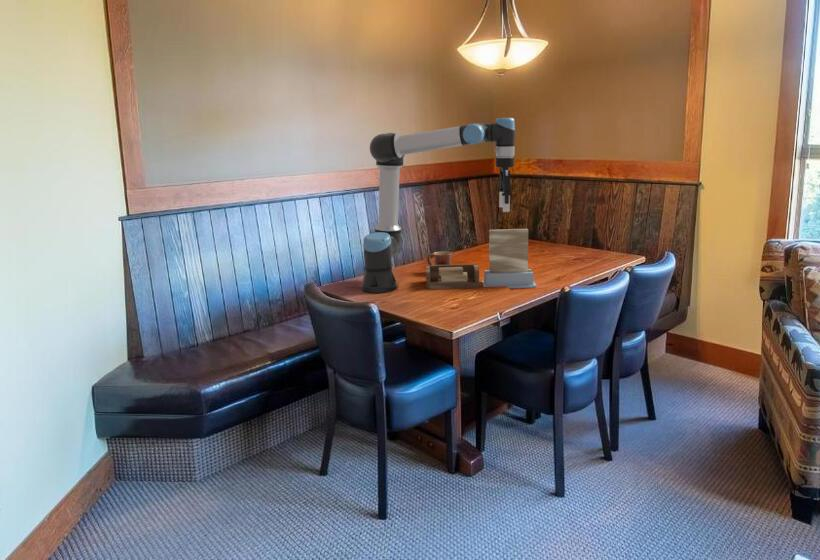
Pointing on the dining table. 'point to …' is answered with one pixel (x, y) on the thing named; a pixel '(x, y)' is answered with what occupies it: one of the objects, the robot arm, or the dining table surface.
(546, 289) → the dining table surface
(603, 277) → the dining table surface
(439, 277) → the rack
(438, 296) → the dining table surface
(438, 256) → the mug
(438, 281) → the offcut low
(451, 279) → the offcut mid
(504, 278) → the slotted stand
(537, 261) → the dining table surface
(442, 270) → the offcut top
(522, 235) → the birch board
